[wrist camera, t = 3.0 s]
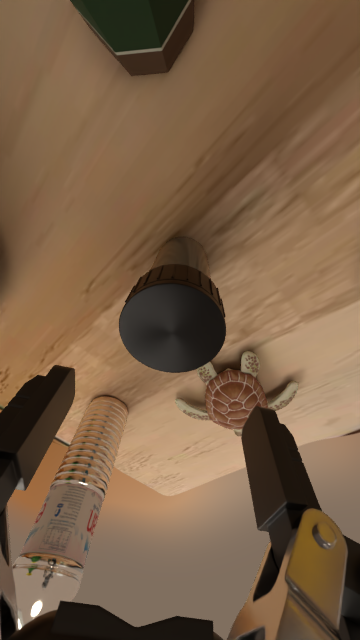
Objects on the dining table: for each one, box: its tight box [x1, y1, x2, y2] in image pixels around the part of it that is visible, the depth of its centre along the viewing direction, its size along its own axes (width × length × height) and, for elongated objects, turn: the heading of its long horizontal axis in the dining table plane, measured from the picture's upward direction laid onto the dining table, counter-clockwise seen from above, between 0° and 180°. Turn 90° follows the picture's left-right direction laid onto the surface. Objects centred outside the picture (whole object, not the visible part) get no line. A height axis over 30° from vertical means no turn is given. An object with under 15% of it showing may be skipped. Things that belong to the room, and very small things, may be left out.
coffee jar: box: [151, 237, 211, 278], centre depth 21 cm, size 6×6×14 cm
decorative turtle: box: [175, 351, 298, 436], centre depth 35 cm, size 18×17×5 cm
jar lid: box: [119, 263, 226, 373], centre depth 16 cm, size 7×7×4 cm
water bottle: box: [12, 396, 128, 629], centre depth 30 cm, size 7×7×25 cm
